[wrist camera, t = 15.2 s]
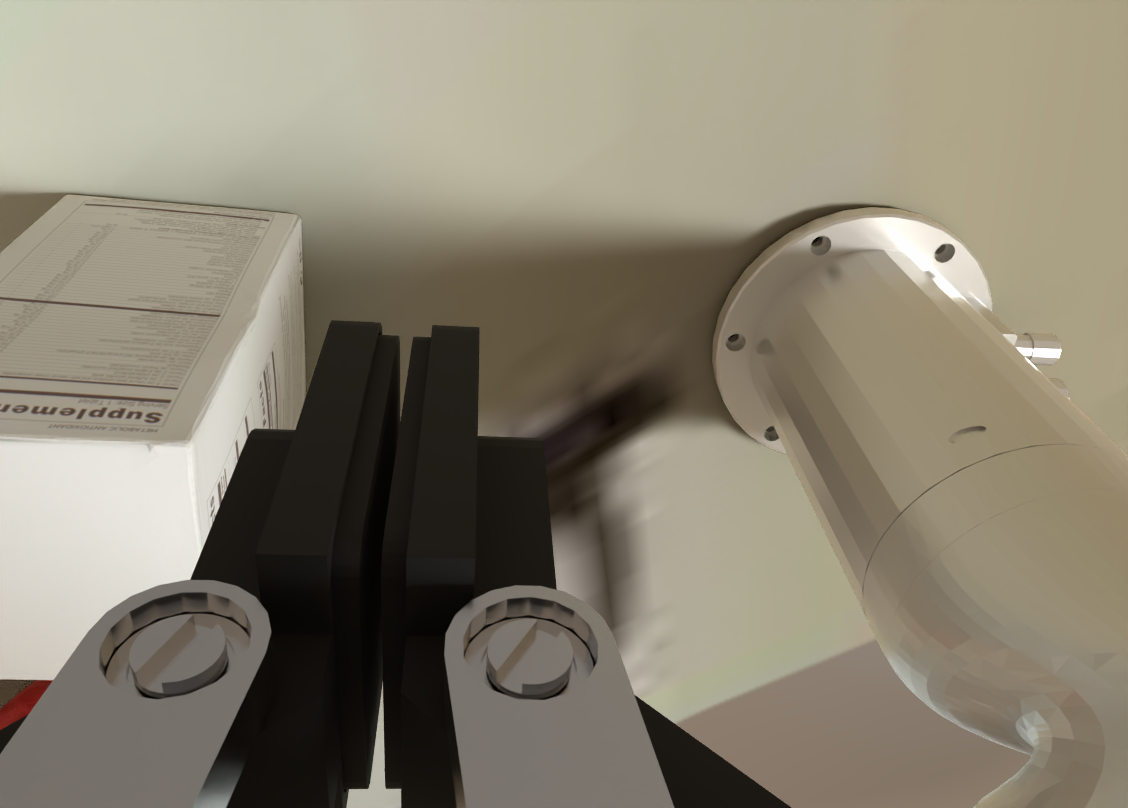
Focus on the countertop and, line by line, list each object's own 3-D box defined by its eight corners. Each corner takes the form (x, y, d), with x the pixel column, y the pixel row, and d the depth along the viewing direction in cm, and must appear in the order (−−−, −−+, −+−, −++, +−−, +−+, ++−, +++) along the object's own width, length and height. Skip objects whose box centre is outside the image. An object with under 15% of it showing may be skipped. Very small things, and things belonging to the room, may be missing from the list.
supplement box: (94, 387, 41) (-120, 686, 26) (59, 188, 36) (-224, 422, 22) (312, 402, 42) (221, 695, 28) (307, 211, 37) (195, 446, 23)
